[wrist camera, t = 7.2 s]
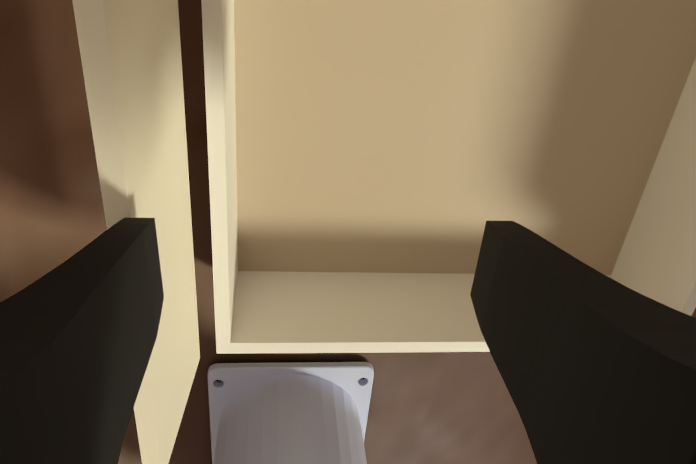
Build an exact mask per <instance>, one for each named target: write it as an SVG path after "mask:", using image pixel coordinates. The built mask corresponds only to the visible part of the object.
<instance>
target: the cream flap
mask: <svg viewBox="0 0 696 464" xmlns="http://www.w3.org/2000/svg"><path fill="white" fill-rule="evenodd" d="M72 2H73V8H74V15H75V22H76V28H77V35H78V42H79V48H80V55H81V62H82V68H83V75H84V81H85V88H86V95H87V101H88V108H89V115H90V121H91V128H92V135H93V141H94V148H95V154H96V161H97V168H98V174H99V181H100V188H101V194H102V201H103V208H104V214H105V221H106V227H107V230H108V229H109V228H110V227H112V226H113V225H114V224H116V223H117V222H118V221H120V220H121V219H123V218H155V226H156V234H157V242H158V251H159V259H160V268H161V276H162V285H163V293H164V300H163V306H162V312H161V318H160V323H159V328H158V333H157V338H156V341H155V344H154V347H153V350H152V353H151V356H150V359H149V362H148V366H147V369H146V372H145V374H144V377H143V380H142V383H141V386H140V389H139V392H138V395H137V398H136V401H135V404H134V413H135V420H136V427H137V433H138V440H139V446H140V453H141V460H142V464H169V460H170V457H171V454H172V450H173V447H174V444H175V440H176V437H177V433H178V430H179V427H180V423H181V420H182V417H183V413H184V410H185V407H186V403H187V400H188V397H189V393H190V390H191V387H192V383H193V380H194V377H195V373H196V370H197V367H198V363H199V360H200V347H199V331H198V315H197V299H196V283H195V267H194V251H193V235H192V219H191V203H190V187H189V171H188V155H187V139H186V123H185V107H184V91H183V75H182V59H181V43H180V27H179V11H178V0H72Z"/></svg>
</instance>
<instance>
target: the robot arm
mask: <svg viewBox="0 0 696 464" xmlns="http://www.w3.org/2000/svg"><path fill="white" fill-rule="evenodd" d="M470 296H471V299H472V303H473V307H474V310H475V314H476V317H477V320H478V324H479V327H480V330H481V333H482V335H483V337H484V339H485V342H486V344H487V346H488V348H489V350H490V353H491V355H492V357H493V359H494V361H495V363H496V365H497V368H498V370H499V372H500V374H501V376H502V378H503V380H504V382H505V384H506V387H507V389H508V391H509V393H510V395H511V397H512V399H513V401H514V404H515V406H516V408H517V410H518V412H519V414H520V417H521V419H522V422H523V424H524V426H525V429H526V432H527V434H528V437H529V440H530V443H531V446H532V449H533V452H534V455H535V458H536V461H537V464H696V318H695V317H692V316H690V315H687V314H685V313H682V312H680V311H678V310H675V309H673V308H671V307H668V306H666V305H664V304H662V303H660V302H657V301H655V300H653V299H651V298H649V297H646V296H644V295H642V294H640V293H638V292H636V291H634V290H632V289H630V288H628V287H626V286H624V285H622V284H621V283H619V282H617V281H615V280H613V279H611V278H610V277H608V276H606V275H604V274H602V273H600V272H599V271H597V270H595V269H594V268H592V267H590V266H588V265H587V264H585V263H583V262H582V261H580V260H578V259H577V258H575V257H573V256H572V255H570V254H568V253H567V252H565V251H564V250H562V249H560V248H559V247H557V246H556V245H554V244H552V243H551V242H549V241H547V240H546V239H544V238H543V237H541V236H539V235H538V234H536V233H534V232H533V231H531V230H529V229H527V228H526V227H524V226H522V225H520V224H518V223H516V222H514V221H486V224H485V229H484V233H483V238H482V243H481V247H480V252H479V256H478V261H477V266H476V270H475V275H474V280H473V284H472V289H471V293H470ZM163 300H164V293H163V285H162V276H161V268H160V259H159V251H158V242H157V234H156V226H155V218H123V219H121V220H120V221H118V222H117V223H116V224H114V225H113V226H112V227H110V228H109V229H108V230H106V231H105V232H104V233H102V234H101V235H100V236H99V237H97V238H96V239H95V240H93V241H92V242H91V243H89V244H88V245H87V246H85V247H84V248H83V249H81V250H80V251H79V252H77V253H76V254H75V255H73V256H72V257H71V258H69V259H68V260H67V261H65V262H64V263H62V264H61V265H59V266H58V267H56V268H55V269H53V270H52V271H50V272H49V273H47V274H46V275H44V276H43V277H41V278H40V279H38V280H37V281H35V282H34V283H32V284H31V285H29V286H28V287H26V288H25V289H23V290H21V291H20V292H18V293H16V294H15V295H13V296H11V297H9V298H8V299H6V300H4V301H2V302H1V303H0V464H118V460H119V455H120V451H121V446H122V443H123V439H124V436H125V432H126V428H127V425H128V422H129V419H130V416H131V413H132V410H133V407H134V404H135V401H136V398H137V395H138V392H139V389H140V386H141V383H142V380H143V377H144V374H145V372H146V369H147V366H148V362H149V359H150V356H151V353H152V350H153V347H154V344H155V341H156V338H157V333H158V328H159V323H160V318H161V312H162V306H163ZM373 377H374V370H373V366H372V365H371V364H370V363H368V362H292V363H217V364H213V365H211V366H210V367H209V370H208V394H209V412H210V431H211V449H212V464H367V462H366V455H365V449H364V438H365V431H366V424H367V418H368V411H369V404H370V397H371V390H372V384H373ZM361 378H365V379H363V380H360V379H361ZM215 380H221V382H217V381H215Z"/></svg>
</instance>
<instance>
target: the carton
mask: <svg viewBox="0 0 696 464" xmlns="http://www.w3.org/2000/svg"><path fill="white" fill-rule="evenodd" d="M201 4H202V28H203V51H204V74H205V98H206V121H207V144H208V168H209V191H210V214H211V238H212V261H213V284H214V308H215V331H216V354H245V353H378V352H490V350H489V348H488V346H487V344H486V342H485V339H484V337H483V335H482V333H481V330H480V327H479V324H478V320H477V317H476V314H475V310H474V307H473V303H472V299H471V296H470V293H471V289H472V284H473V280H474V275H475V270H476V266H477V261H478V256H479V252H480V247H481V243H482V238H483V233H484V229H485V224H486V221H514V222H516V223H518V224H520V225H522V226H524V227H526V228H527V229H529V230H531V231H533V232H534V233H536V234H538V235H539V236H541V237H543V238H544V239H546V240H547V241H549V242H551V243H552V244H554V245H556V246H557V247H559V248H560V249H562V250H564V251H565V252H567V253H568V254H570V255H572V256H573V257H575V258H577V259H578V260H580V261H582V262H583V263H585V264H587V265H588V266H590V267H592V268H594V269H595V270H597V271H599V272H600V273H602V274H604V275H606V276H608V277H610V278H611V279H613V280H615V281H617V282H619V283H621V284H622V285H624V286H626V287H628V288H630V289H632V290H634V291H636V292H638V293H640V294H642V295H644V296H646V297H649V298H651V299H653V300H655V301H657V302H660V303H662V304H664V305H666V306H668V307H671V308H673V309H675V310H678V311H680V312H682V313H685V314H687V315H690V316H691V315H692V313H693V311H694V309H695V307H696V0H201Z"/></svg>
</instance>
